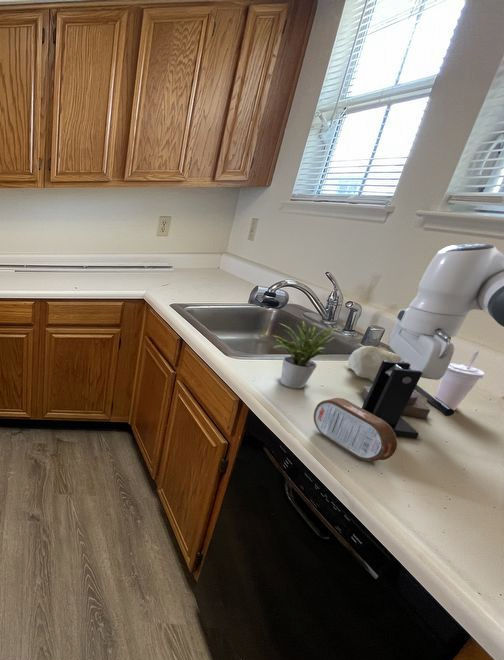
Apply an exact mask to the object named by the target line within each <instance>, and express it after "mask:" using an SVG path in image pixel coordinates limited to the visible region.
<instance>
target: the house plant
mask: <svg viewBox="0 0 504 660" xmlns="http://www.w3.org/2000/svg"><path fill="white" fill-rule="evenodd" d="M301 323H302V329H301V327H300V326H299V325H298V324H297V323H295V325H296V327H297V328H298V331H299V333H300V337H299V336H298V334H297V333H296V332H295V330H294V329H293V328H291V327H289V326H288V325H286V324H283V323H281V322H278V324H280V325H282V326H283V327H284V330H286V331H287V333H288V334H289V336H290V337H291V338H292V340H293V341H289V340H287V339H285V338H283V337H281V336H278V335H275V334H270V336H272V337H273V338H275V339H274V340H275V341H278V342H280V343H281V344H275V346H273V347H272V349H275V348H284V349H285V350H286V351H287V352H288V354H289V355H287V356H284V357H283V358H282V359H283V361H282V368H281V374H280V376H281V377H280V383H281V384H282V385H284V386H286V387H288V388H292V389H303V388H304V387H305V386H306V384H307V383H308V381H309V379H310V378H311V376H312V375H313V373H314V371H315V369H316V368H317V366H318V364H317V363H316V362H315V361H313V360H312V359H313V358H315V357H317V356H322V355H323V356H330V357H331V358H333V355H332V354H327V353H324V352H323V351H321V350H326V348H325V347H322V346H324V345H325V344H327V343H331V341H332V340H333V339H334V338H336V337H337V335H335V336H334V337H331V338H329V337H330V336H332V335H333V334H334V333H335V332H334V331H336V330H339V329H340V327H334V328H324V329H322V330H320V331H319V332H317V333H316V334H315V330H316V325H313V327H312V328H311V327H309V328H308V327H307V324H306V322H305V321H304V320H301ZM307 331H308V334H307ZM314 334H315V335H314ZM313 336H314V337H313ZM306 337H307V338H306ZM300 338H301V339H300ZM328 338H329V339H328ZM315 339H316V340H315ZM327 339H328V340H327ZM314 340H315V341H314ZM325 340H326V341H325Z"/></svg>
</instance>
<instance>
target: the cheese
mask: <svg viewBox="0 0 504 660" xmlns="http://www.w3.org/2000/svg"><path fill="white" fill-rule="evenodd" d="M383 360H385V361H395V362H400V360H401V358H400V357H399V356H398V355H397V354H396V353H395V352H390V351H387V350H385V349H382V348H380V347H377V346H373V345H363V346H361V347H358V348H357V349H355V350H353V352H352V353H351V354H350V356H349V357H348V360H347V366H348V367H349V368H350V369H351V370H352V371H353V372H354V373H355V375H356V376H357V377H360V378H363V379H369V380H370V381H371V382H372V383H373V382H374V379H375V377H376V375H377V373H378V370H379V368H380V366H381V364H382V362H383Z"/></svg>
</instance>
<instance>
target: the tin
mask: <svg viewBox="0 0 504 660" xmlns="http://www.w3.org/2000/svg"><path fill="white" fill-rule="evenodd" d="M313 422H314V425H315V427H316V429H317V430H318V432H319V433H320V434H321V435H322V436H323V437H325V438H326V439H328V440H330V441H331V442H333V444H336V445H337V446H338V447H340V448H341V449H343V450H344V451H346V452H348V453H349V454H351V455H352V456H354V457H355V458H356V459H358V460H361V461H365V462H376V461H386V460H388V459H390V458H391V457H393V456H394V454H395V453H396V452H397V448H398V438H397V436H396V435H395V433H394V431H393V429H392V428H391V427H390V425H389V424H387V423H386V422H385V421H384V420H382V419H380V418H378V417H377V416H375V415H373V414H371V413H369V412H367V411H366V410H364V409H362V407H360V406H358V405H356V404H355V403H353V402H351V401H349V400H347V399H346V398H341V397H334V398H329V399H325V400H322V401H320V402H318V404H317V405H316V406H315V408H314V411H313Z"/></svg>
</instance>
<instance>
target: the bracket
mask: <svg viewBox="0 0 504 660" xmlns="http://www.w3.org/2000/svg"><path fill="white" fill-rule="evenodd" d="M396 364H397V365H398V366H400V367H401V368H402V369H398V368H393V370H392V372H391V375H390V376H389V375H388V374H386V373H385V372H386V371H387V370H388V369H390V368H391V367H393V366H394V365H396ZM410 365H411V364H409V363H405V362H395V361H385V360H383V362H382V364H381V366H380V368H379V370H378V373H377V375H376V377H375V379H374V382H373V381H372V384H371V386H370V387H371V388H370V391H369V393H368V395H367V397H366V400H365V399H364V402H363V404H362V406H361V408H362V409H364V410H366V411H367V412H369V413H371V414H373V415H375V416H377V417H378V418H380V419H382V420H384V421H385V422H386V423H387V424H389V425H390V427H391V428H392V429H393V431H394V433H395V435H396V437H402V438H409V439H418V436H419V435H420V433H419V431H417V430H416V429H415V428H414V427H413V426H411V424H410V423H408V422H407V421H406V420H405V419H404V418H403V417H402V415H403V414H402V413H403V411H404V409H405V407H406V405H407V403H408V401H409V399H410V397H411V395H412V393H413V391H415V390H414V389H415V387H416V385H418V383H419V381H420V379H421V375H422V372H421V371H417V370H408V369H409V367H410Z"/></svg>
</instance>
